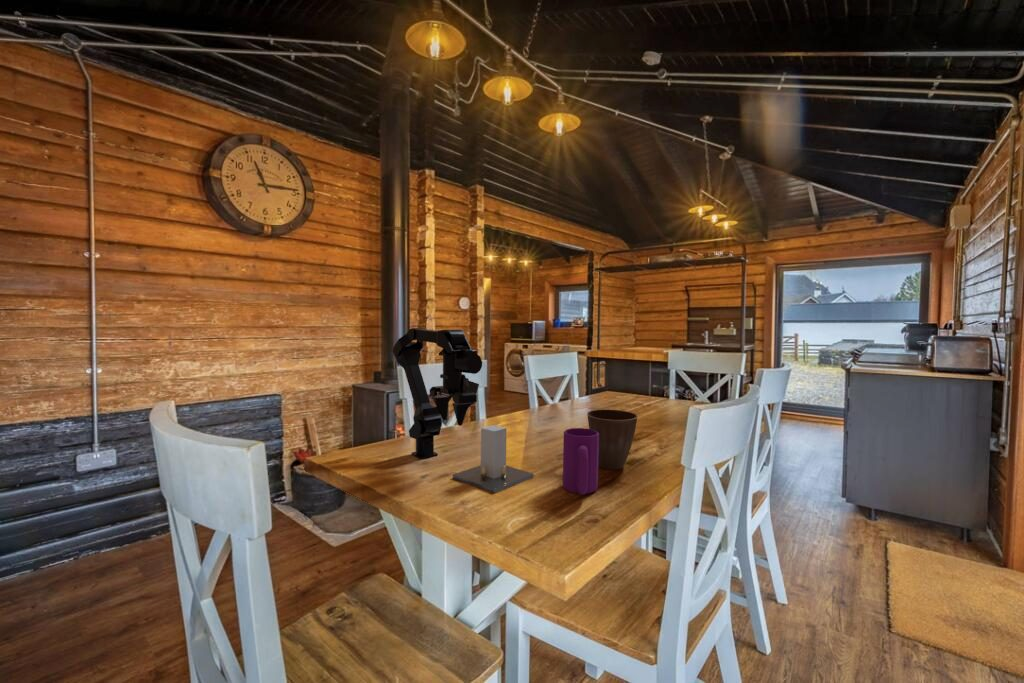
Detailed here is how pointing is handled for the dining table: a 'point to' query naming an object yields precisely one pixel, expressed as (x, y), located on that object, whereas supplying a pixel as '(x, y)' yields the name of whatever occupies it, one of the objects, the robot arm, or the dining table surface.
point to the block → (493, 450)
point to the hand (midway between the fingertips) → (452, 422)
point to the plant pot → (613, 436)
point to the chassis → (495, 485)
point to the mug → (580, 460)
